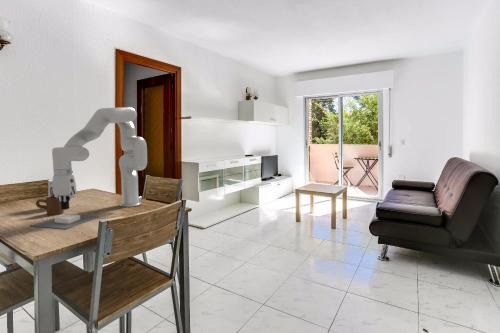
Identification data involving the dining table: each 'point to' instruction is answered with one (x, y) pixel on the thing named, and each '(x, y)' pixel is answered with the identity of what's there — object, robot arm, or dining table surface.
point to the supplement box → (50, 188)
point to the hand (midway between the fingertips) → (65, 209)
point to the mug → (51, 205)
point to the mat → (52, 223)
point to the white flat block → (67, 219)
